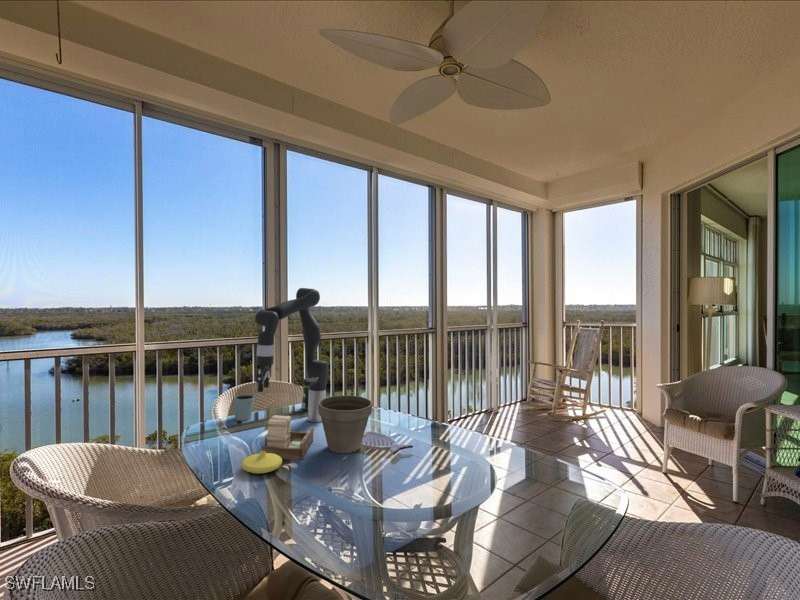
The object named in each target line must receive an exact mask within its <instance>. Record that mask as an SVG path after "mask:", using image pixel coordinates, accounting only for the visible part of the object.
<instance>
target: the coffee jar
mask: <svg viewBox="0 0 800 600" xmlns="http://www.w3.org/2000/svg"><path fill="white" fill-rule="evenodd" d="M317 380H318V377H309V378H308V377H307V378H303V379H302V389H303V391H302V400H301V409H302V410H304V411H308V401H309V385H310V384H311V383H314V382H317Z"/></svg>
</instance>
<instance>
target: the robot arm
mask: <svg viewBox="0 0 800 600" xmlns="http://www.w3.org/2000/svg"><path fill="white" fill-rule="evenodd" d="M320 295H321V294H320V292H319V290H317V289H315V288H307V287H300V288H298V289H297V292H296V293H295V299H290V300H286V301H283V302H281V303H279V304H277V305H275V306H271V307H267V308H264V309H261V310H259V311H258V312H257V313H256V314H255V317H254V320H255V323H256V324H257V325H258V326H261V327H265V329H264V330H263V331H260V332H259V333H258V335H257V347H256V356H255V357H256V359H255V361H256V363H255V365H257V366H259V369H257V370H256V378H255V379H256V380H255V383H256V384H257V392H258V393H262V392H264V388H266V389H267V388H269V387H270V379H271V377H272V366H273V364H274V360H275V359H274V356H275V346H274V345H275V335H276V332H277V329H278V325H279V322H280V321H281V320H283V319H285V318H287V317H289V316H290V315H293V314H295V313H297V312H298V313H299V318H300V322H301V327H302V328H301V329H302V335H303V343H304V348H305V349H304V350H305V365H306V367H305V368H306V372H307V375H308V376H309V377H311V378H317V379H318V380H317V382H314V383H311V384H310V385H309V401H308V410H307V421H308V422H311V423H322V419H321V416H320V415H319V410H318V403H319V401H320V400H322V399H324V398H327V397H326V396H327V395H326V394H327V384H328V375H329V363H328V362H327V361H326V360H325V361H324V360H320V359H319V360H318V359H316V350H317V349H318V347H319V345H320V343H321V340H322V335H321V329H320V328H321V327H320V325H319V323H318V321H317V320H316V319H315V317H314V315H312V312H311V309H310V308H313V307H315V306H316V305H318V304H319V302H320V299H321V296H320Z"/></svg>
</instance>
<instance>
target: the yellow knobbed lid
mask: <svg viewBox="0 0 800 600" xmlns="http://www.w3.org/2000/svg"><path fill="white" fill-rule="evenodd" d="M282 463H283V459H281V457H280V456H278V455H276V454H273V453H265V451H261V450H260V451H259V453H258V452H257V453H254V454H251V455H250V454H249V455H247V456H246V457H245V458H244V459H243V460H242V461H241V463H240V464H241V467H242V469H243V470H244V471H246V472H248V473H252V474H256V475H257V474H258V475H259V474H267V473H270V472H273V471H276V470H277V469H279V468H280V467H281V466H282Z"/></svg>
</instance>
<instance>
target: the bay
mask: <svg viewBox="0 0 800 600" xmlns="http://www.w3.org/2000/svg"><path fill="white" fill-rule="evenodd" d="M314 430H315V429H314V426H309V429H308V430H307V431H296V430H295V431H294V430H290V434H291V436H290V442H289V443H288V445H287V446H286V447H274V446H267V445H262V446H261V448H260V451H265V453H273V454H276V455H278V456H280V457H281V459H282V460H301V461H303V459H304V458H305V456H306V455H307V453H308V451H309V449H310V447H311V446H312V444H313V442H314Z"/></svg>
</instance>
